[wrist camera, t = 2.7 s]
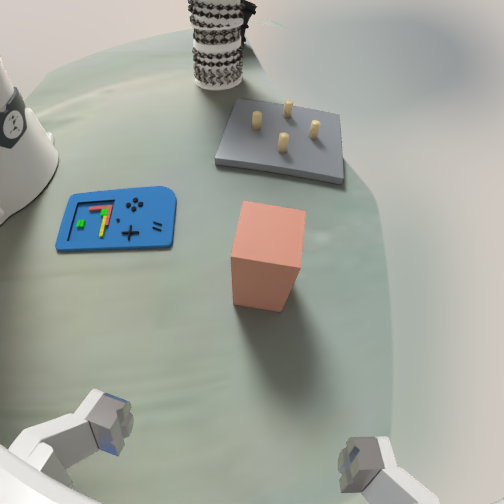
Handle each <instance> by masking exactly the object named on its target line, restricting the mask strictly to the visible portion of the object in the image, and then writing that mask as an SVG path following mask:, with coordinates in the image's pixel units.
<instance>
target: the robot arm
mask: <svg viewBox="0 0 504 504" xmlns="http://www.w3.org/2000/svg"><path fill="white" fill-rule="evenodd" d="M53 144H54V137H53V135H52V134H51V133H46V132H45V130H44V129H43V127H42V126H41V124H40V123H39V121H38V119H37V118H36V116H35V115H34V113H33V112H32V110H31V109H29V108H25V104H24V101H23V99H22V96H21V94H20V93H19V92H18V90H17V88H16V87H13V85H12V83H11V81H10V78H9V76H8V74H7V72H6V69H5V66H4V64H3V62H2V59H1V56H0V225H1V224H2V223H3V222H4V221H5V220H6V219H7V218H8V217H9V216H10V215H12V214H13V213H15V212H17V211H18V210H20V209H22V208H23V207H25V206H26V205H27V204H29V203H30V202H31V201H32V200H33V199H34V198H36V197H37V196H38V195H39V193H40V192H41V191H42V190H43V189H44V188H45V186H46V185H47V184H48V182H49V181H50V179H51V178H52V176H53V174H54V172H55V170H56V167H57V164H58V158H59V156H58V152H57V150H56V148H55V147H54V145H53ZM130 409H131V403H130V402H129V401H126V400H124V399H121V398H118V397H116V396H113V395H110V394H108V393H105V392H103V391H100V390H97V389H93V390H91V391H90V393H89V394H88V395H87V397H86V398H85V399H84V401H83V402H82V403H81V405H80V406H79V407H78V409H77V410H76V411H75V413H74V414H71V413H69V414H66V415H64V416H61V417H58V418H55V419H53V420H50V421H47V422H44V423H41V424H38V425H35V426H32V427H29V428H26V429H24V430H23V431H22V432H21V433H20V435H19V436H18V437H17V438H16V440H15V441H14V442H13V443H12V445H11V446H10V447H9V448H8V449H6V448H5V447H4V446H2V445H1V444H0V504H103V503H101V502H98V501H96V500H94V499H92V498H90V497H87V496H85V495H83V494H81V493H79V492H77V491H75V490H73V489H71V488H69V486H70V485H71V483H72V480H71V478H70V476H69V475H68V473H67V471H66V470H65V469H66V468H68V467H70V466H72V465H74V464H75V463H77V462H79V461H81V460H83V459H84V458H86V457H88V456H90V455H91V454H93V453H95V452H97V451H98V450H99V449H100V450H102V451H105V452H108V453H110V454H113V455H116V456H119V454H120V452H121V451H122V449H123V447H124V445H125V444H124V440H123V439H124V438H126V437H128V436H129V435H130V433H131V431H132V427H133V415H132V414H131V413H130ZM346 445H347V447H346V448H344V449H342V451H341V453H340V454H339V458H338V471H339V472H340V473H341V474H342V477H341V478H340V480H339V481H340V489H341V493H358V492H362V493H361V494H362V495H363V496H364V497H365V499H366V500H367V501H368V502H369V503H370V504H440V503H439V500H438V497H437V496H435V495H434V494H432V492H430V491H429V490H428V489H426V488H425V487H424V486H423V485H422V484H420V483H419V482H418V481H417V480H416V479H414V478H413V477H412V476H411V475H410V474H408V473H407V472H406V471H405V470H404V469H403V468H401V467H398V466H397V463H396V460H395V456H394V453H393V450H392V447H391V443H390V440H389V438H388V437H387V436H383V437H351V438H349V439H348V441H347V442H346ZM492 504H504V498H503V499H501V500H498V501H496V502H494V503H492Z"/></svg>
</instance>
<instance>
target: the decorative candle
mask: <svg viewBox="0 0 504 504" xmlns="http://www.w3.org/2000/svg"><path fill="white" fill-rule="evenodd" d="M188 3H189V4H191V5H189V6H188V7H189V9H188V10H189V11H190V12H191V13H192V15H191V16H190V22H191V26H192V27H193V28H194V35H195V37H194V40H193V41H194V47H193V51H192V52H193V53H194V54H195V55H194V56H193V57H194V58H193V60H194V61H195V63H194V70H195V74H194V76H195V78H196V79H195V82H196V84H197V86H199V87H201V88H202V89H207V90H225V89H230V88H233V87H235V86H237V85H238V84H239V83H240V82H241V80H242V76H241V74H242V73H243V72H242V71H241V70H242V68H241V67H242V66H243V64H241V63H242V60H241V58H242V57H243V55H242V50H243V46H242V44H241V36H240V25H242V24H243V19H242V18H241V17H243V16H245V13H243V12H242V11H240V10H242V9H244V8H245V7H246V6H245V4H243V3H240V0H188Z"/></svg>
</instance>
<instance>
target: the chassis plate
mask: <svg viewBox="0 0 504 504" xmlns="http://www.w3.org/2000/svg"><path fill="white" fill-rule="evenodd" d="M215 165H223V166H231V167H239V168H246V169H253V170H260V171H267V172H273V173H279V174H285V175H291V176H297V177H303V178H308V179H314V180H319V181H325V182H330V183H335V184H340V185H341V184H342V181H343V179H344V175H343V156H342V141H341V128H340V116H339V115H338V114H334V113H329V112H324V111H319V110H314V109H308V108H303V107H297V106H293V102H292V101H290V100H286V101H285V104H278V103H271V102H264V101H255V100H247V99H237V100H236V102H235V105H234V108H233V110H232V113H231V115H230V118H229V121H228V123H227V126H226V128H225V131H224V134H223V137H222V139H221V142H220V145H219V148H218V150H217V153H216V156H215Z"/></svg>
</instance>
